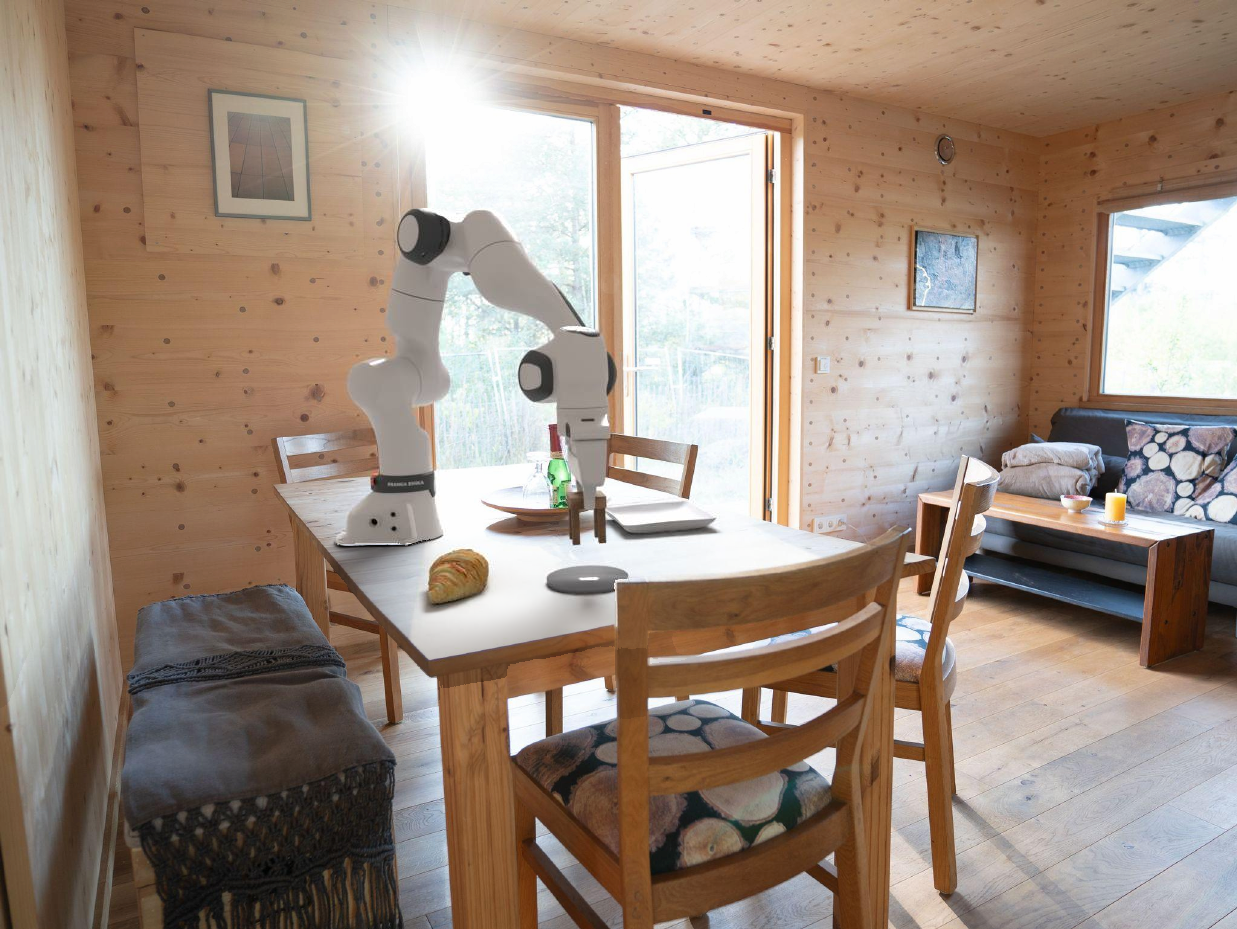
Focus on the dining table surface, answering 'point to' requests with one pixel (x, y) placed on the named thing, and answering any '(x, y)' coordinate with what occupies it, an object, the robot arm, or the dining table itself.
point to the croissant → (457, 575)
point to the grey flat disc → (585, 579)
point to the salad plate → (660, 517)
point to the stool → (599, 516)
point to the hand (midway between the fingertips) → (586, 505)
